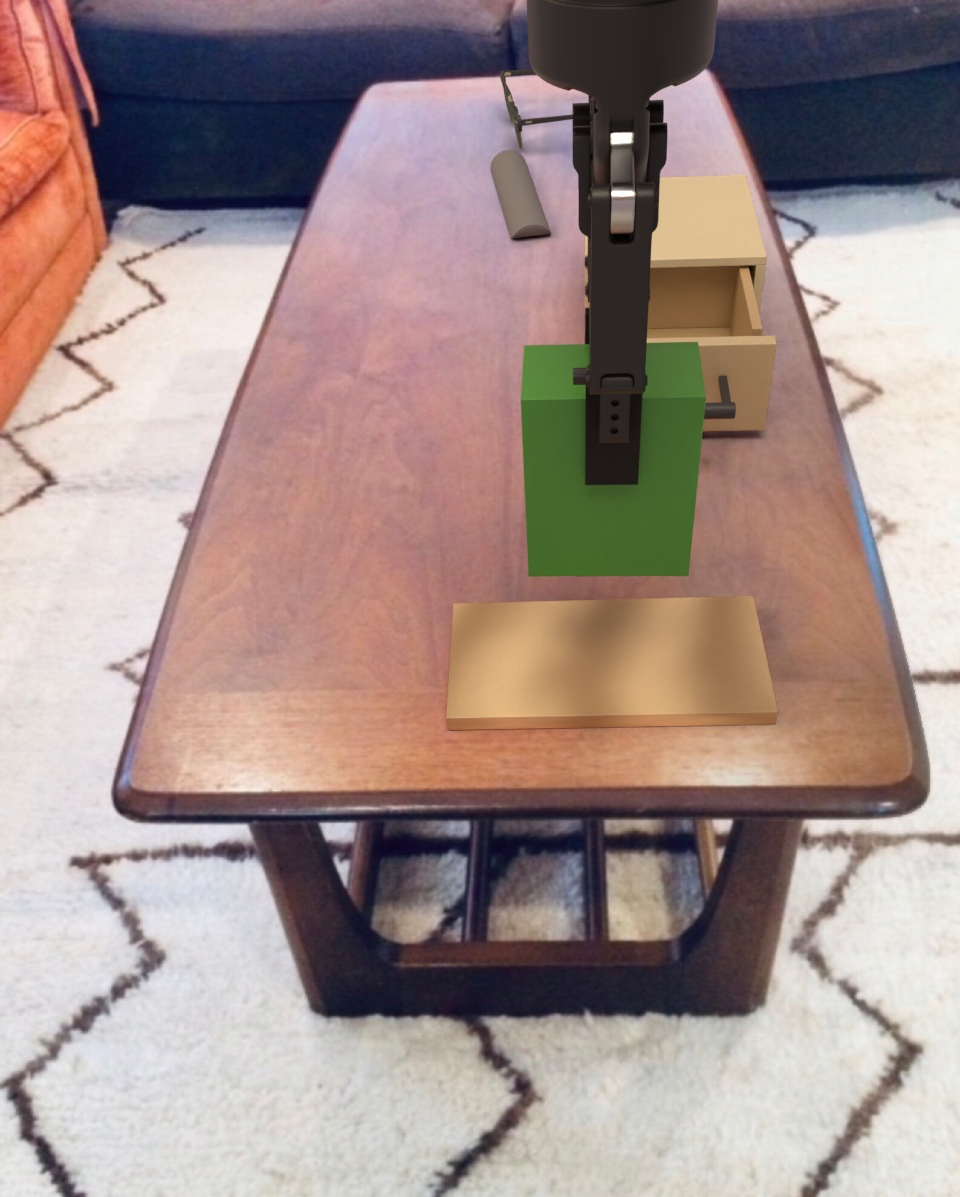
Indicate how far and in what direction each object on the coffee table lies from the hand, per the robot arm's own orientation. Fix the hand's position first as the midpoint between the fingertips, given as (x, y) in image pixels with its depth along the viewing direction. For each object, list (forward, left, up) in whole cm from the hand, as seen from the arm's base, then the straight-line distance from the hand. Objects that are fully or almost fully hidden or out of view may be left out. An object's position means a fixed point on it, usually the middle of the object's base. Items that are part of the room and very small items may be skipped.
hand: (610, 446), depth 59 cm
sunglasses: (+65, -60, -18) cm, 90 cm away
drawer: (+17, -25, -17) cm, 34 cm away
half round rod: (+55, -42, -18) cm, 71 cm away
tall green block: (0, 0, -7) cm, 7 cm away
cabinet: (+27, -35, -17) cm, 47 cm away
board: (0, 0, -17) cm, 17 cm away
